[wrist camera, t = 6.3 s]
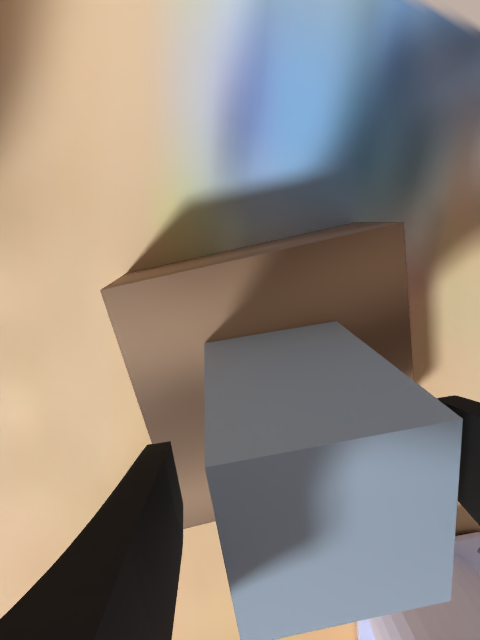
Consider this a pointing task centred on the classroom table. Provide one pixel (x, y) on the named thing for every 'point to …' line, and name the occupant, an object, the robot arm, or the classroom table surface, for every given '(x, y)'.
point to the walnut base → (250, 322)
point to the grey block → (326, 481)
